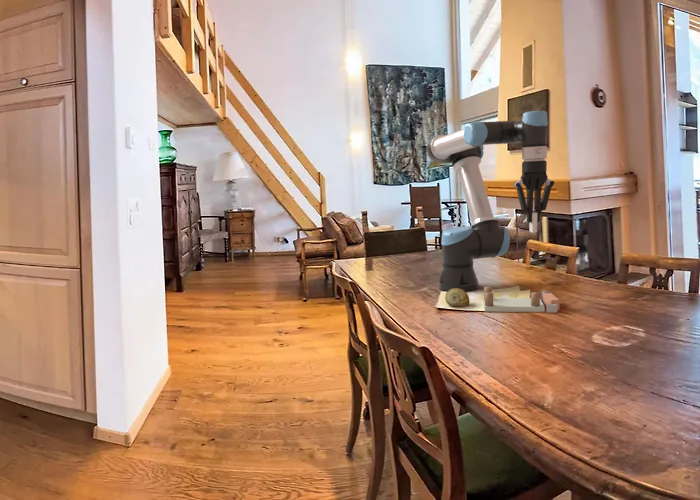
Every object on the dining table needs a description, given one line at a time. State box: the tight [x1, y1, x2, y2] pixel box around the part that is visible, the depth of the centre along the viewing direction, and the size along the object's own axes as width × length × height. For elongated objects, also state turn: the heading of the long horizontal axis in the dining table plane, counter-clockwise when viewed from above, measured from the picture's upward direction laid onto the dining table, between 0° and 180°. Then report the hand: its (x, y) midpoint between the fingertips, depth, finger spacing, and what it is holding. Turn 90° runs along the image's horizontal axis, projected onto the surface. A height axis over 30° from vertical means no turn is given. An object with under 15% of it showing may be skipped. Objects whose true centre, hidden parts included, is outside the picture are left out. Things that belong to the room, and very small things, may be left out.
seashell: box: [444, 288, 470, 307], centre depth 165 cm, size 10×7×8 cm
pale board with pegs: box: [483, 286, 558, 314], centre depth 157 cm, size 22×12×6 cm, turn 76°
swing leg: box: [541, 290, 560, 311], centre depth 156 cm, size 11×3×4 cm, turn 173°
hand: (533, 231), depth 162 cm, fingers closed
